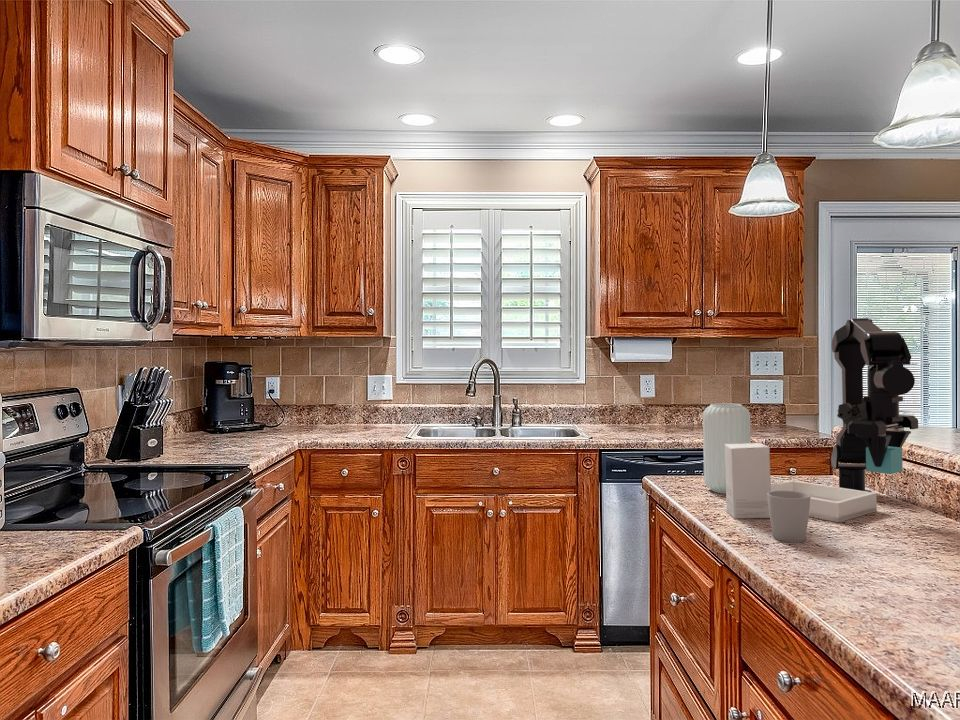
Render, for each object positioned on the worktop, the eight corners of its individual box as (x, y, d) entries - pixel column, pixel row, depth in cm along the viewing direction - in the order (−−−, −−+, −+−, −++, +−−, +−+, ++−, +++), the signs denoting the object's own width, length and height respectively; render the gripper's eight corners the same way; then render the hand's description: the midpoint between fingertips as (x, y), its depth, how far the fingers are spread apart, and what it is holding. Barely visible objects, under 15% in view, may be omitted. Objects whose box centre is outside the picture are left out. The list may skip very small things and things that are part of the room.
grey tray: (791, 496, 168) (791, 480, 168) (876, 511, 151) (876, 493, 151) (752, 505, 159) (752, 488, 159) (838, 522, 142) (838, 503, 142)
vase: (745, 486, 181) (744, 402, 181) (756, 495, 170) (755, 406, 169) (700, 486, 183) (699, 403, 182) (708, 495, 171) (707, 406, 171)
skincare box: (763, 512, 153) (762, 442, 152) (773, 519, 146) (772, 446, 146) (724, 512, 153) (723, 442, 153) (732, 519, 147) (731, 447, 147)
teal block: (877, 468, 148) (877, 445, 148) (902, 471, 144) (902, 447, 144) (866, 470, 146) (865, 447, 145) (891, 474, 141) (890, 450, 141)
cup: (767, 542, 129) (767, 497, 129) (767, 529, 138) (767, 487, 138) (812, 545, 126) (811, 499, 126) (809, 532, 135) (808, 489, 135)
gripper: (865, 388, 157) (866, 456, 157) (822, 392, 146) (823, 465, 146) (919, 390, 147) (919, 462, 148) (876, 394, 137) (877, 472, 137)
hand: (883, 465), depth 145 cm, fingers closed on teal block, 5 cm apart
